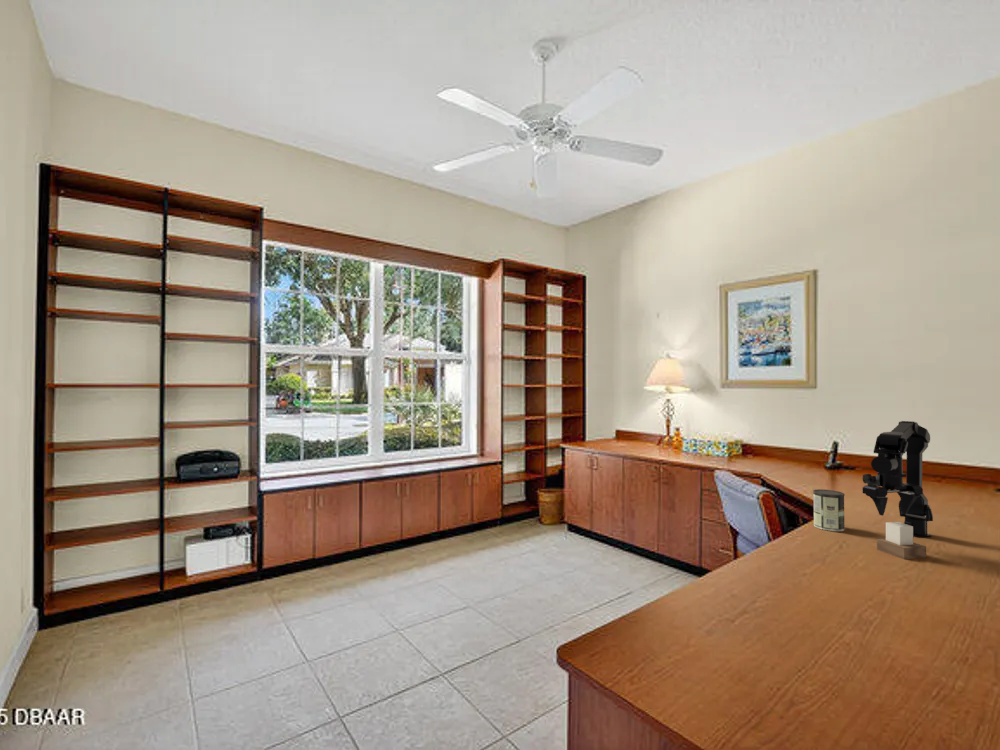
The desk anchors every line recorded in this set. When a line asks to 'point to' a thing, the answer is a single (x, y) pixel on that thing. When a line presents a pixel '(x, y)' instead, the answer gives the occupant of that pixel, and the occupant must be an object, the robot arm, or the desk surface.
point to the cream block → (899, 533)
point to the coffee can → (829, 510)
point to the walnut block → (902, 549)
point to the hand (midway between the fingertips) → (892, 514)
